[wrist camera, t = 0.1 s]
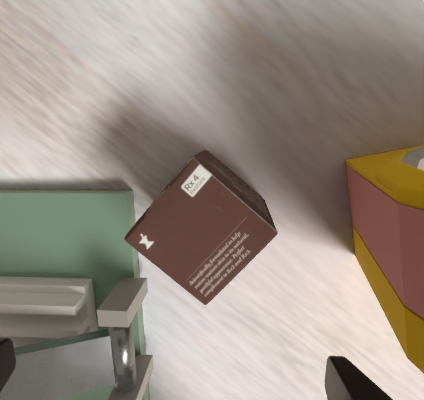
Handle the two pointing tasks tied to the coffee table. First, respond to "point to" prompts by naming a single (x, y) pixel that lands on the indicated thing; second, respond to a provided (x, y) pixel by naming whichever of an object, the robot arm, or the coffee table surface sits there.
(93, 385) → the grey hinged lever
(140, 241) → the box
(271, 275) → the coffee table surface
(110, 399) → the board
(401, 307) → the alarm clock
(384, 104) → the coffee table surface
